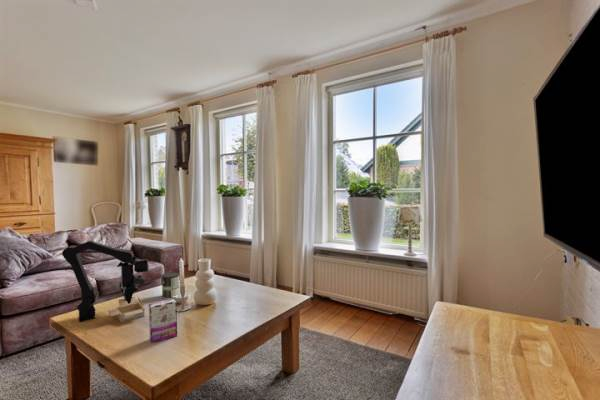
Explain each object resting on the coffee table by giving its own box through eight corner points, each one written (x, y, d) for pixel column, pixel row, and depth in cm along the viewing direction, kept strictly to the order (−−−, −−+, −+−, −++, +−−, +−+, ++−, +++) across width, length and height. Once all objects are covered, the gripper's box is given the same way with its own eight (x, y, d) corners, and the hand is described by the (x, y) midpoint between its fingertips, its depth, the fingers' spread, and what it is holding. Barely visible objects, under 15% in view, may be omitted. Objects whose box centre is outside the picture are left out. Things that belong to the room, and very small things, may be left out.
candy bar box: (174, 332, 138) (174, 298, 138) (177, 336, 134) (177, 301, 134) (148, 339, 132) (148, 303, 131) (150, 343, 128) (150, 307, 127)
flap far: (143, 306, 156) (141, 300, 156) (139, 302, 162) (137, 296, 162) (143, 306, 157) (141, 300, 156) (140, 302, 163) (138, 296, 162)
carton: (112, 327, 142) (112, 319, 142) (107, 317, 154) (107, 309, 154) (146, 318, 152) (146, 310, 152) (139, 310, 164) (139, 302, 164)
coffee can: (161, 300, 178) (161, 277, 178) (162, 295, 188) (161, 273, 187) (180, 297, 183) (179, 275, 182) (179, 292, 192) (179, 271, 192)
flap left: (119, 305, 157) (118, 299, 159) (119, 306, 158) (118, 300, 159) (136, 302, 163) (135, 296, 164) (136, 302, 163) (134, 296, 165)
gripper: (148, 273, 158) (148, 302, 157) (139, 268, 172) (140, 295, 171) (124, 277, 150) (125, 308, 150) (117, 272, 164) (118, 299, 164)
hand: (128, 302), depth 159 cm, fingers open, 5 cm apart
